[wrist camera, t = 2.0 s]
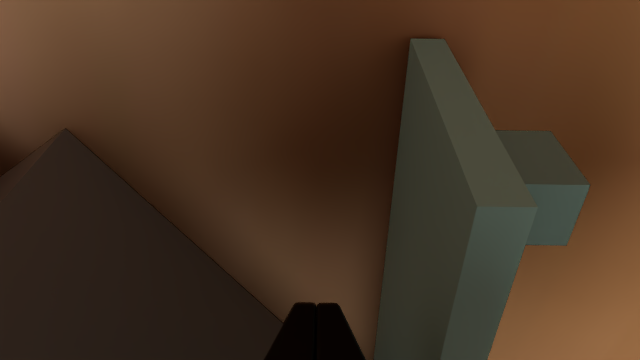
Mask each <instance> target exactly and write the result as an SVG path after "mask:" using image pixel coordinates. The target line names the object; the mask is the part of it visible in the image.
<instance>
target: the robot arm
mask: <svg viewBox="0 0 640 360" xmlns="http://www.w3.org/2000/svg"><path fill="white" fill-rule="evenodd" d="M264 360H366V359H365V357H364V355H363V353H362V351H361V349H360V347H359V345H358V343H357V341H356V339H355V337H354V335H353V333H352V330H351V328H350V326H349V324H348V322H347V320H346V318H345V316H344V314H343V312H342V310H341V308H340V306H339V305H338V304H337V303H318V304H317V308H316V305H315V303H312V302H297V303H295V304H294V305H293V307H292V309H291V310H290V312H289V314H288V316H287V318H286V320H285V321H284V323H283V325H282V327H281V329H280V331H279V332H278V334H277V336H276V338H275V340H274V342H273V343H272V345H271V347H270V349H269V351H268V353H267V355H266V356H265V358H264Z"/></svg>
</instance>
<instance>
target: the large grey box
mask: <svg viewBox="0 0 640 360" xmlns="http://www.w3.org/2000/svg"><path fill="white" fill-rule="evenodd" d="M282 325H283V323H282V322H281V321H279V320H278V319H277V318H276V317H275V316H274V315H273V314H272V313H271V312H269V311H268V310H267V309H266V308H265V307H264V306H263V305H262V304H260V303H259V302H258V301H257V300H256V299H255V298H254V297H253V296H252V295H250V294H249V293H248V292H247V291H246V290H245V289H244V288H243V287H242V286H240V285H239V284H238V283H237V282H236V281H235V280H234V279H233V278H232V277H230V276H229V275H228V274H227V273H226V272H225V271H224V270H223V269H221V268H220V267H219V266H218V265H217V264H216V263H215V262H214V261H213V260H211V259H210V258H209V257H208V256H207V255H206V254H205V253H204V252H203V251H201V250H200V249H199V248H198V247H197V246H196V245H195V244H194V243H192V242H191V241H190V240H189V239H188V238H187V237H186V236H185V235H184V234H182V233H181V232H180V231H179V230H178V229H177V228H176V227H175V226H174V225H172V224H171V223H170V222H169V221H168V220H167V219H166V218H165V217H163V216H162V215H161V214H160V213H159V212H158V211H157V210H156V209H155V208H153V207H152V206H151V205H150V204H149V203H148V202H147V201H146V200H145V199H143V198H142V197H141V196H140V195H139V194H138V193H137V192H136V191H134V190H133V189H132V188H131V187H130V186H129V185H128V184H127V183H126V182H124V181H123V180H122V179H121V178H120V177H119V176H118V175H117V174H116V173H114V172H113V171H112V170H111V169H110V168H109V167H108V166H107V165H106V164H104V163H103V162H102V161H101V160H100V159H99V158H98V157H97V156H95V155H94V154H93V153H92V152H91V151H90V150H89V149H88V148H87V147H85V146H84V145H83V144H82V143H81V142H80V141H79V140H78V139H77V138H75V137H74V136H73V135H72V134H71V133H70V132H69V131H68V130H66V129H63V130H62V131H61V132H59V133H58V134H57V135H55V136H54V137H53V138H51V139H50V140H49V141H47V142H46V143H45V144H44V145H42V146H41V147H40V148H38V149H37V150H36V151H34V152H33V153H32V154H30V155H29V156H28V157H26V158H25V159H24V160H22V161H21V162H20V163H18V164H17V165H16V166H14V167H13V168H12V169H10V170H9V171H8V172H6V173H5V174H4V175H2V176H1V177H0V360H264V358H265V356H266V355H267V353H268V351H269V349H270V347H271V345H272V343H273V342H274V340H275V338H276V336H277V334H278V332H279V331H280V329H281V327H282Z"/></svg>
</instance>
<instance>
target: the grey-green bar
mask: <svg viewBox="0 0 640 360" xmlns="http://www.w3.org/2000/svg"><path fill="white" fill-rule="evenodd" d="M589 188H590V184H589V182H588V181H587V180H586V178H585V177H584V176H583V174H582V173H581V172H580V170H579V169H578V168H577V166H576V165H575V163H574V162H573V161H572V159H571V158H570V157H569V155H568V154H567V153H566V151H565V150H564V149H563V147H562V146H561V144H560V143H559V142H558V140H557V139H556V138H555V136H554V135H553V134H552V132H551V131H509V130H495V129H494V127H493V126H492V124H491V122H490V120H489V118H488V117H487V115H486V113H485V111H484V109H483V108H482V106H481V104H480V102H479V100H478V99H477V97H476V95H475V93H474V91H473V90H472V88H471V86H470V84H469V82H468V81H467V79H466V77H465V75H464V73H463V72H462V70H461V68H460V66H459V64H458V63H457V61H456V59H455V57H454V55H453V54H452V52H451V50H450V48H449V46H448V45H447V43H446V41H445V39H410V48H409V56H408V65H407V74H406V82H405V91H404V100H403V108H402V117H401V126H400V134H399V143H398V152H397V160H396V169H395V178H394V186H393V195H392V204H391V212H390V221H389V230H388V238H387V247H386V256H385V264H384V273H383V282H382V290H381V299H380V308H379V316H378V325H377V334H376V342H375V351H374V360H487V359H488V356H489V353H490V350H491V347H492V344H493V341H494V338H495V335H496V332H497V329H498V326H499V323H500V320H501V317H502V314H503V311H504V308H505V305H506V302H507V299H508V296H509V293H510V290H511V287H512V284H513V281H514V278H515V275H516V272H517V269H518V266H519V263H520V260H521V257H522V254H523V251H524V248H525V245H567V243H568V240H569V238H570V235H571V233H572V230H573V228H574V225H575V223H576V220H577V218H578V215H579V213H580V210H581V208H582V205H583V203H584V200H585V198H586V195H587V193H588V190H589Z"/></svg>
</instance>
